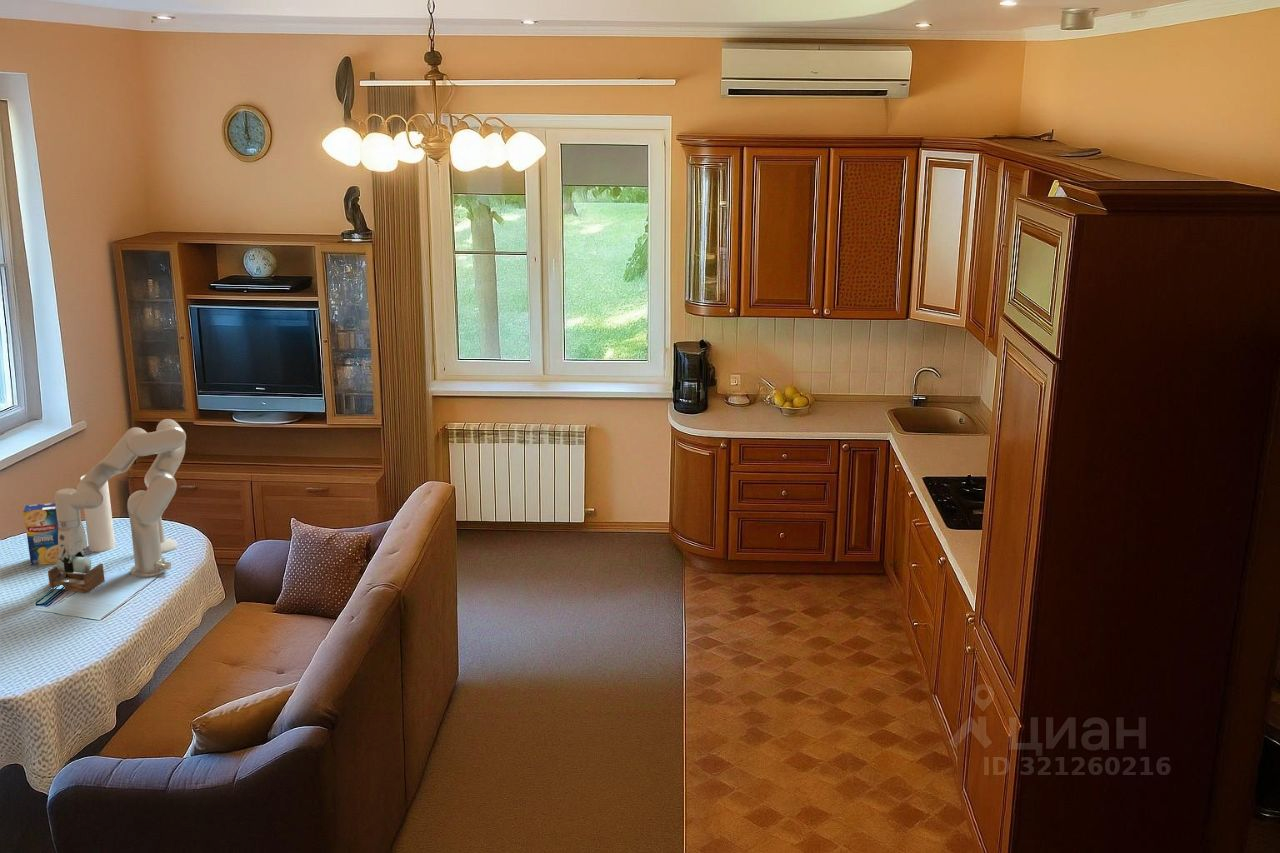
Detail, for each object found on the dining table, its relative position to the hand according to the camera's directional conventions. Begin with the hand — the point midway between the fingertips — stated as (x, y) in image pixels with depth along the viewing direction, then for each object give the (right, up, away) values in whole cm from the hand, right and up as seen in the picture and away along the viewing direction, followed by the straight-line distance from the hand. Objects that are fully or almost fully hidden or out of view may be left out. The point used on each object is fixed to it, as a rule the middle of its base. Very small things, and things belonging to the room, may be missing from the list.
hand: (74, 568), depth 407 cm
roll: (0, -1, 0) cm, 1 cm away
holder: (0, -6, +2) cm, 7 cm away
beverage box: (-21, 0, +22) cm, 30 cm away
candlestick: (+16, +4, +37) cm, 40 cm away
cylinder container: (-7, +4, +35) cm, 36 cm away
